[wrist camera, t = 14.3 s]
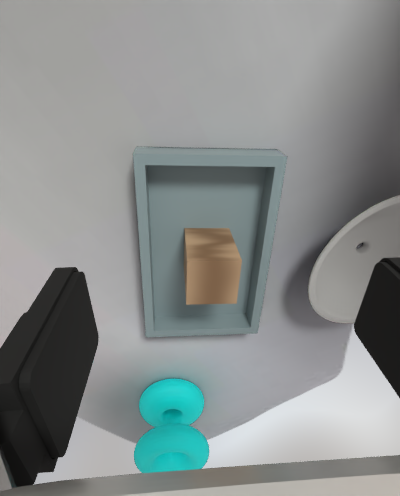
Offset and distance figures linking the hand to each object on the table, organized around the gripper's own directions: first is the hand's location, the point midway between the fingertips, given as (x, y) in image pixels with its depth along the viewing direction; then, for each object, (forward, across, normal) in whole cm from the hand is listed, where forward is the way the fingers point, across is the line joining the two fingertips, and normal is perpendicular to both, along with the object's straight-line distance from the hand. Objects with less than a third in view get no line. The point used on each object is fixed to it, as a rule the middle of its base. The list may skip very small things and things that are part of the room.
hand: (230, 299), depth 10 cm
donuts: (+22, +4, +38) cm, 44 cm away
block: (+22, -1, +11) cm, 25 cm away
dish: (+24, -20, +12) cm, 33 cm away
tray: (+23, -1, +11) cm, 25 cm away
